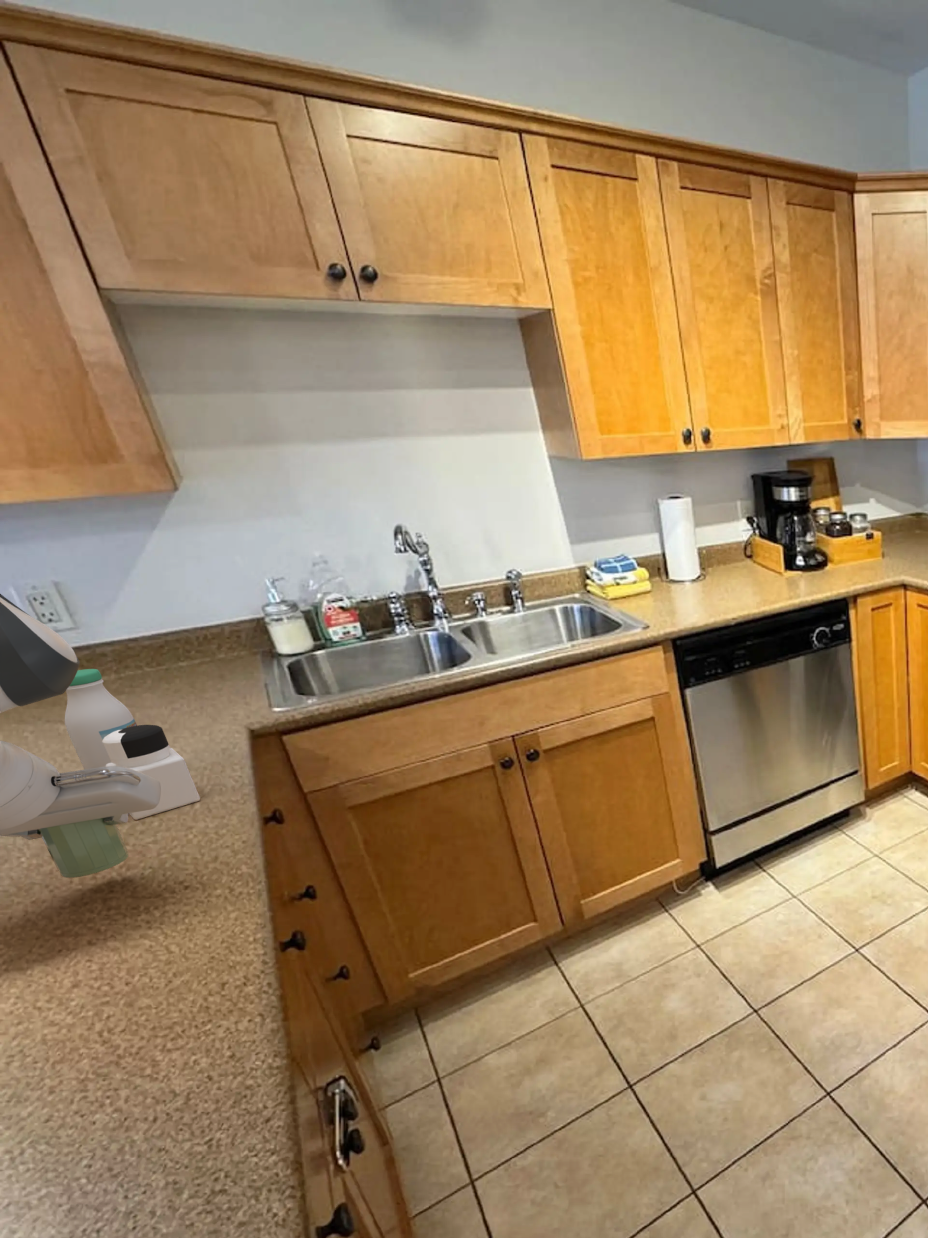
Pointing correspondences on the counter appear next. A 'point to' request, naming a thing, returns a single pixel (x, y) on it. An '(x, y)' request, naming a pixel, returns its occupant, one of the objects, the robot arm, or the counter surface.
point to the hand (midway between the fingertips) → (80, 825)
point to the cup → (84, 847)
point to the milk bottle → (93, 717)
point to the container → (152, 764)
